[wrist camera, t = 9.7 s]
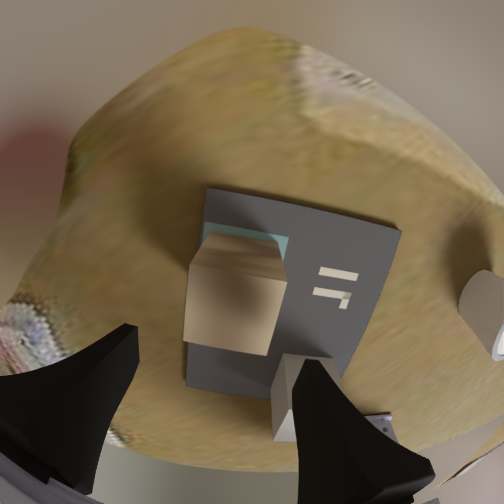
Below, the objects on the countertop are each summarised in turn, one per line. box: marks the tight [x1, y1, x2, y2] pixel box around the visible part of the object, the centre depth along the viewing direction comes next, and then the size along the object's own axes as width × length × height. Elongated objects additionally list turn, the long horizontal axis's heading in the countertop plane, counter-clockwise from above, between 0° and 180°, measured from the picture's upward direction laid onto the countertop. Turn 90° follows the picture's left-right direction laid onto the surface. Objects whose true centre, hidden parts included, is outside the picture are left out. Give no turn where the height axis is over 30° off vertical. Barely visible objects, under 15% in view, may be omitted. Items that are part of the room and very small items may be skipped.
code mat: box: [186, 187, 402, 400], centre depth 20 cm, size 14×18×1 cm
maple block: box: [183, 230, 287, 356], centre depth 16 cm, size 4×4×6 cm
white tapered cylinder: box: [458, 270, 504, 361], centre depth 17 cm, size 7×7×7 cm
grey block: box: [271, 353, 346, 442], centre depth 19 cm, size 4×4×6 cm
